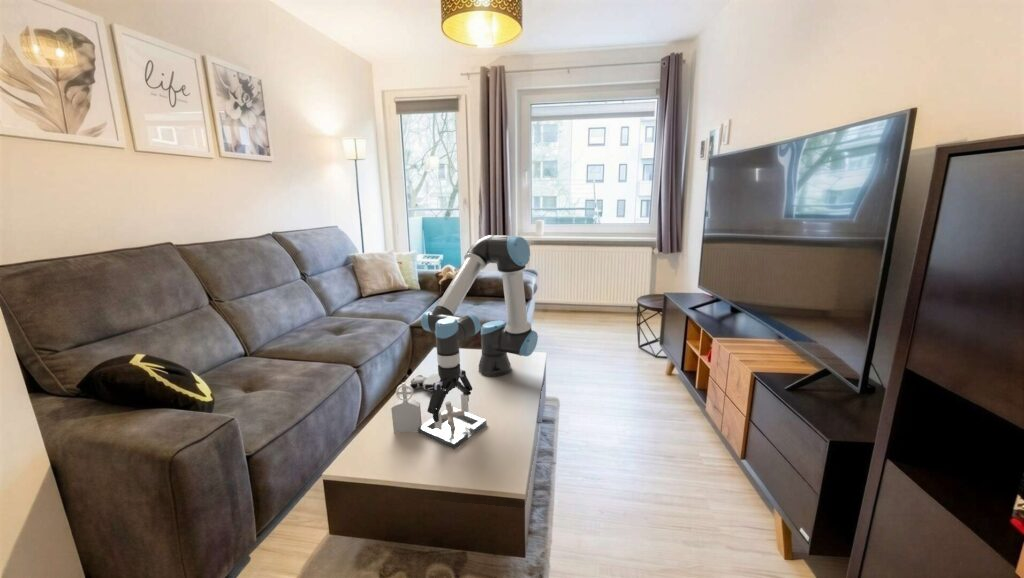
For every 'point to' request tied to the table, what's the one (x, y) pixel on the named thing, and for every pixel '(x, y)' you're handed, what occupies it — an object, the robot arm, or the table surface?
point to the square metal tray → (456, 436)
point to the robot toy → (425, 382)
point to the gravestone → (406, 411)
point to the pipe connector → (451, 414)
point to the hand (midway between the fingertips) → (452, 419)
